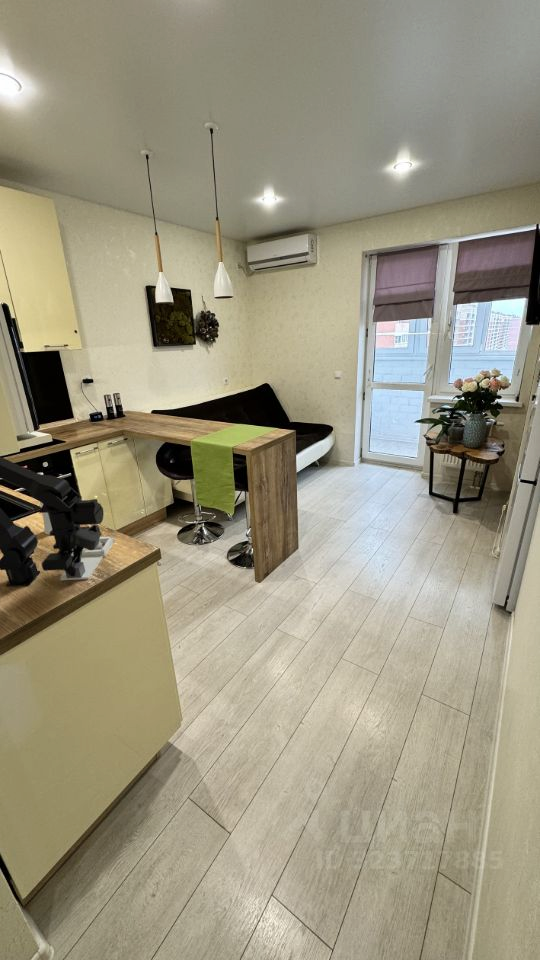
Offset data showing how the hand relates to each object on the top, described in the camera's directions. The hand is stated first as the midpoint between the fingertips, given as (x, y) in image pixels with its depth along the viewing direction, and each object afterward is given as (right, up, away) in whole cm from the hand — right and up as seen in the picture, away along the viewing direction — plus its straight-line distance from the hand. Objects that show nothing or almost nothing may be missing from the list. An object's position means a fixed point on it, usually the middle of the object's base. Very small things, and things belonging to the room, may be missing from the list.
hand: (75, 572), depth 108 cm
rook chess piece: (-1, +4, +14) cm, 15 cm away
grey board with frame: (0, +2, +8) cm, 9 cm away
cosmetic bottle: (-21, +8, +27) cm, 35 cm away
